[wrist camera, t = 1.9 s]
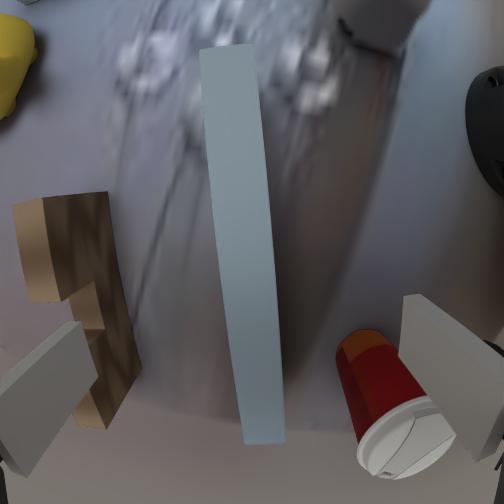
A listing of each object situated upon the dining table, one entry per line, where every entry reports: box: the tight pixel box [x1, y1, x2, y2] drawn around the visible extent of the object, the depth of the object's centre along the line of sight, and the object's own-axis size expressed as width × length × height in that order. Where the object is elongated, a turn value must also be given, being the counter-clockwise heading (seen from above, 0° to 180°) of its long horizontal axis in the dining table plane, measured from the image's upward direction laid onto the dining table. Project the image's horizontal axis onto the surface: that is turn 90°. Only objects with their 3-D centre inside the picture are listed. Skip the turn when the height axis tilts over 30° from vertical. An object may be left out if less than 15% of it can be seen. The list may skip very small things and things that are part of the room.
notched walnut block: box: [13, 191, 142, 430], centre depth 23 cm, size 18×3×10 cm, turn 5°
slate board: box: [199, 43, 286, 445], centre depth 22 cm, size 26×3×10 cm, turn 5°
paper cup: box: [336, 329, 456, 480], centre depth 22 cm, size 8×8×14 cm
